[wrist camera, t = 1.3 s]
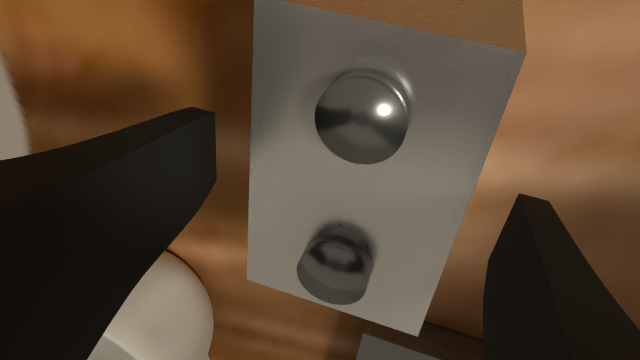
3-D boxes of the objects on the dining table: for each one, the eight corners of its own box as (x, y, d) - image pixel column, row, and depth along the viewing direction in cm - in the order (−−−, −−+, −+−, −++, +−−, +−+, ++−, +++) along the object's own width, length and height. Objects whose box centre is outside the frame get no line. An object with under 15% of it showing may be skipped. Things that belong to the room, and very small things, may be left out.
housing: (520, -15, 12) (527, 65, 8) (438, 222, 17) (414, 355, 12) (331, -51, 13) (240, 2, 9) (304, 184, 18) (237, 294, 13)
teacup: (71, 251, 25) (-18, 334, 21) (145, 192, 21) (51, 281, 16) (206, 372, 27) (150, 467, 23) (297, 342, 23) (249, 452, 19)
